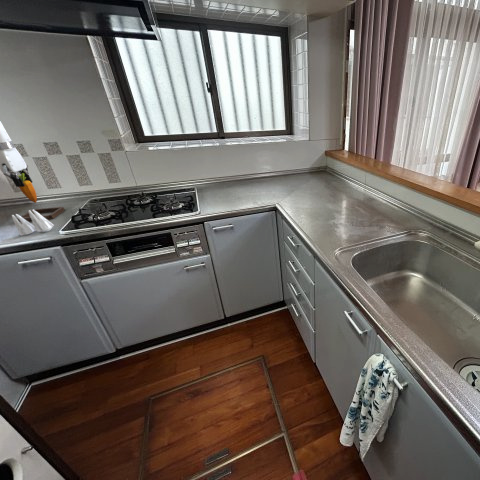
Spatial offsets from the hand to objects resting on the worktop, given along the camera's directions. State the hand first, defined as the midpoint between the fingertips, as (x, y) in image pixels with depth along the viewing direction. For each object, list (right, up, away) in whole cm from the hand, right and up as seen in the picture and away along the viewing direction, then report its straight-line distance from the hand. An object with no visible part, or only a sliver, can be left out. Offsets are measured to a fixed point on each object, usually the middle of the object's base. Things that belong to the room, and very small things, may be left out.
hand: (24, 184), depth 131 cm
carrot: (0, -9, +5) cm, 10 cm away
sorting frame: (0, -15, +9) cm, 17 cm away
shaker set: (+14, -24, -7) cm, 29 cm away
